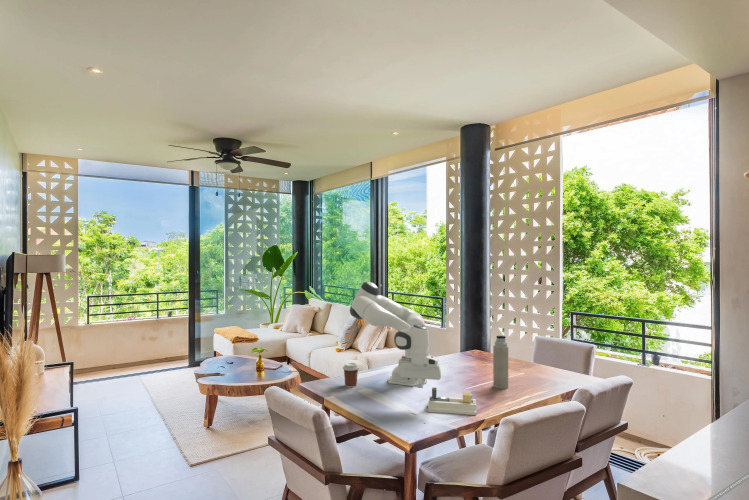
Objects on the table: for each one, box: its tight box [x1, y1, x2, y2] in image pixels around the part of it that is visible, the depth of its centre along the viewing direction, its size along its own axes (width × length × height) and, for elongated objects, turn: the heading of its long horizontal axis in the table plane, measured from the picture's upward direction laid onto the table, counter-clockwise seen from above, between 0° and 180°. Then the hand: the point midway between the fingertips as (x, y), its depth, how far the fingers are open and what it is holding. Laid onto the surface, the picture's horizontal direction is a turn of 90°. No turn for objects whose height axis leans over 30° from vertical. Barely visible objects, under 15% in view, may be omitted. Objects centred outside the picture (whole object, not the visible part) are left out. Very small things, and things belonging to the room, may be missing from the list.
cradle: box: [427, 395, 478, 416], centre depth 209 cm, size 22×12×4 cm, turn 79°
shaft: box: [429, 387, 450, 402], centre depth 210 cm, size 9×3×7 cm, turn 79°
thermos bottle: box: [492, 335, 509, 390], centre depth 245 cm, size 8×8×28 cm
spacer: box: [462, 392, 473, 403], centre depth 208 cm, size 4×4×6 cm
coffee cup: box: [342, 362, 360, 388], centre depth 245 cm, size 9×9×12 cm
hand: (419, 387), depth 212 cm, fingers closed
